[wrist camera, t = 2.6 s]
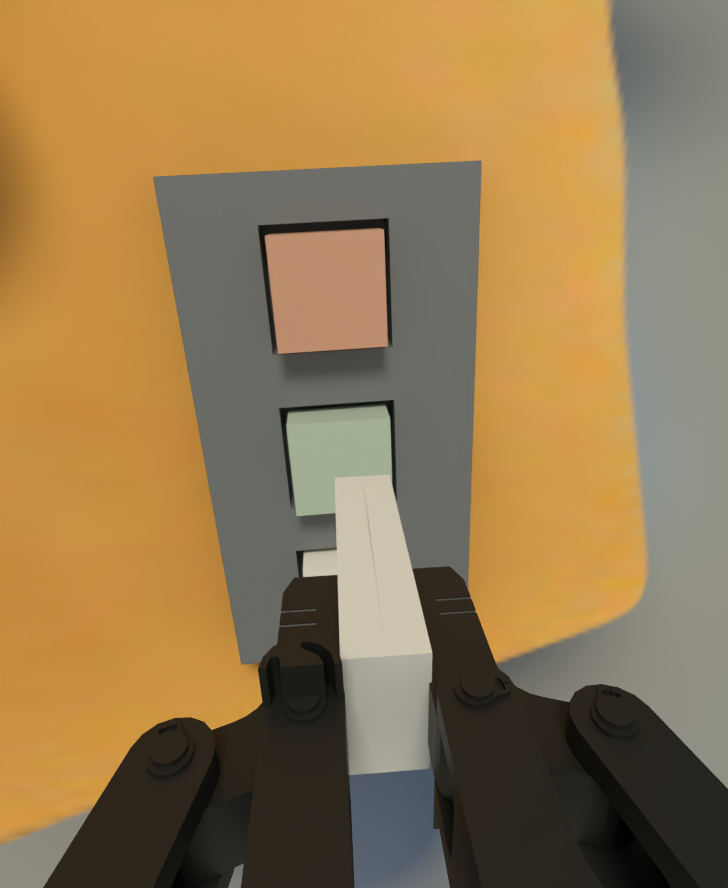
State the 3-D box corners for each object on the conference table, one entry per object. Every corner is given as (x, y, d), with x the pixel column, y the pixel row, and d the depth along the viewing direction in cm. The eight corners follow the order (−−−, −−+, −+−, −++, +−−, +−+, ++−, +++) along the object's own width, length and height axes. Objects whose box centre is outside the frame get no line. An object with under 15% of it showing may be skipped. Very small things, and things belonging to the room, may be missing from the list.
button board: (246, 635, 36) (241, 664, 34) (167, 179, 25) (153, 176, 23) (456, 616, 37) (466, 643, 34) (466, 165, 26) (481, 160, 24)
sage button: (297, 495, 30) (296, 516, 28) (288, 410, 28) (286, 425, 26) (388, 488, 30) (393, 508, 28) (384, 403, 28) (390, 418, 26)
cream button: (311, 617, 33) (310, 643, 31) (303, 549, 31) (302, 572, 29) (392, 610, 34) (397, 635, 32) (389, 541, 32) (394, 564, 30)
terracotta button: (281, 343, 27) (278, 353, 25) (269, 233, 25) (264, 235, 23) (382, 336, 27) (387, 346, 25) (378, 228, 25) (383, 229, 23)
